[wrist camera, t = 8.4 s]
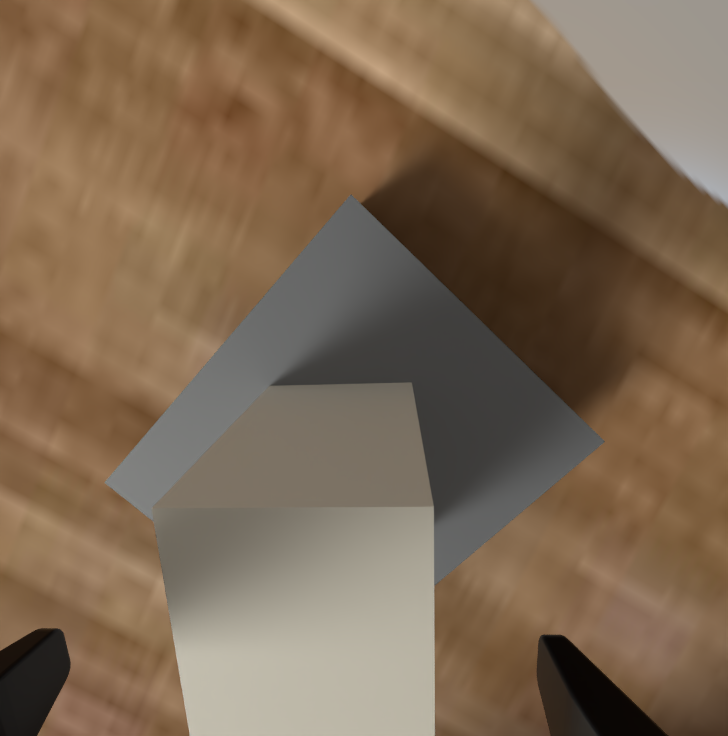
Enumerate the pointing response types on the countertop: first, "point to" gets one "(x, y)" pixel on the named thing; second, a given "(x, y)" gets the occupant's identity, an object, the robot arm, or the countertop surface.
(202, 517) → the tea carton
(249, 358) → the podium
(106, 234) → the countertop surface
